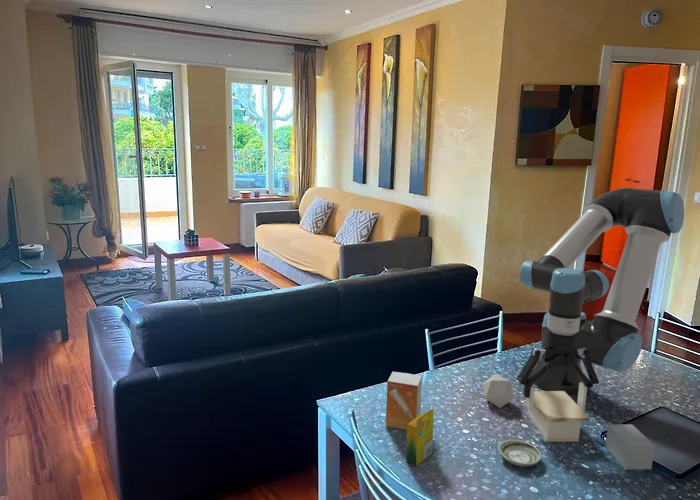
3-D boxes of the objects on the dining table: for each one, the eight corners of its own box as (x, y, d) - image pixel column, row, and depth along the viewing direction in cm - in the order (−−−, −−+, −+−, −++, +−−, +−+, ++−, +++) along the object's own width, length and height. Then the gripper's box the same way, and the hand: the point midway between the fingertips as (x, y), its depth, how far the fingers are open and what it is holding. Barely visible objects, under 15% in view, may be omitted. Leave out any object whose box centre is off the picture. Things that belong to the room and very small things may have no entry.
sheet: (544, 421, 126) (545, 418, 126) (524, 394, 140) (524, 391, 140) (589, 421, 127) (589, 417, 127) (564, 394, 141) (564, 391, 140)
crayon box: (422, 448, 125) (424, 403, 123) (432, 452, 124) (435, 408, 121) (405, 462, 120) (407, 416, 117) (416, 467, 118) (418, 420, 116)
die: (519, 409, 146) (515, 374, 150) (508, 404, 140) (504, 369, 144) (491, 411, 150) (488, 377, 154) (479, 407, 144) (476, 372, 148)
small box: (385, 427, 134) (386, 380, 132) (390, 415, 140) (392, 370, 138) (416, 432, 132) (418, 385, 129) (420, 420, 138) (422, 375, 135)
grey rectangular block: (625, 469, 118) (628, 445, 117) (605, 446, 127) (608, 424, 126) (651, 469, 118) (654, 445, 117) (629, 446, 127) (632, 424, 126)
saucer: (516, 477, 115) (517, 467, 115) (488, 453, 124) (489, 444, 123) (549, 466, 119) (550, 457, 118) (520, 444, 128) (521, 435, 127)
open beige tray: (547, 441, 129) (549, 419, 128) (529, 416, 140) (530, 396, 139) (578, 441, 129) (581, 419, 128) (558, 416, 141) (560, 396, 140)
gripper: (518, 335, 125) (512, 416, 129) (619, 335, 126) (609, 415, 130) (508, 325, 133) (502, 401, 137) (603, 325, 133) (595, 400, 138)
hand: (554, 408), depth 134 cm, fingers open, 13 cm apart
